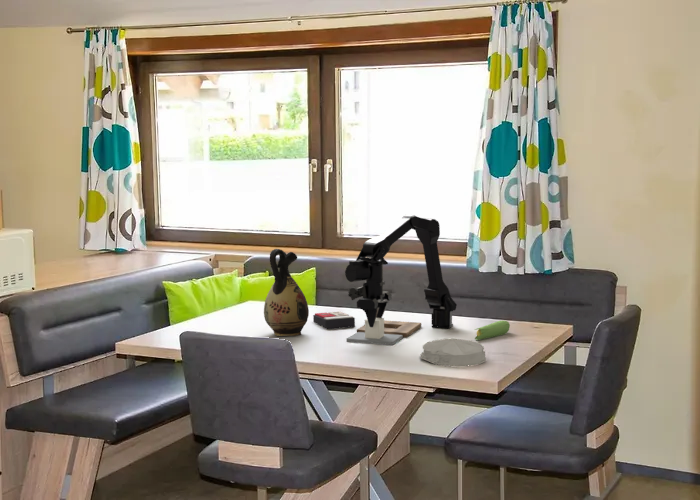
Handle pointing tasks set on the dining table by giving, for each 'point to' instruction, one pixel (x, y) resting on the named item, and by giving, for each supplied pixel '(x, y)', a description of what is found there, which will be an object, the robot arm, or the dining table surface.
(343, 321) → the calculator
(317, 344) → the dining table surface
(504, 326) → the edible corn
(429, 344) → the grey stone disc
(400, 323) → the pocket plate
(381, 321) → the white block
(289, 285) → the ceramic jug
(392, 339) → the grey mat
